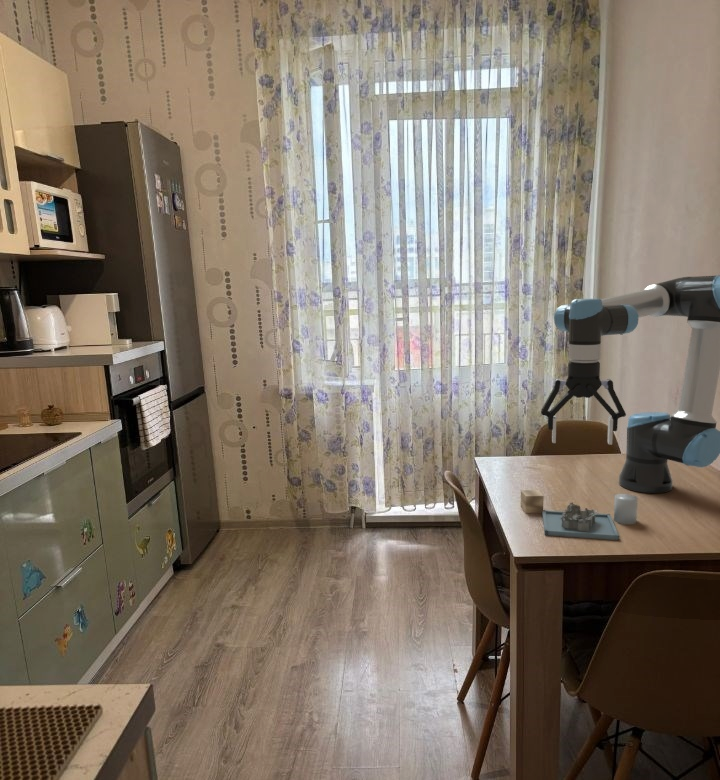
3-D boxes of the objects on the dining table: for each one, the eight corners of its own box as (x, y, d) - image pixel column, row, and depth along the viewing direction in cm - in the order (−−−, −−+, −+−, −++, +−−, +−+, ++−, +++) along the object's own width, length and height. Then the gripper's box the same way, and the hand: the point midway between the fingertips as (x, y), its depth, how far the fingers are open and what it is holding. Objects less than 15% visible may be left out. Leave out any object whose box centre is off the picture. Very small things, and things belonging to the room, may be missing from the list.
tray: (609, 518, 163) (610, 514, 163) (618, 540, 149) (619, 535, 149) (542, 514, 167) (542, 510, 167) (544, 535, 153) (544, 530, 153)
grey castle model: (571, 514, 165) (571, 500, 164) (599, 520, 160) (599, 506, 159) (557, 527, 156) (557, 512, 156) (586, 533, 152) (587, 518, 151)
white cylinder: (634, 517, 163) (635, 494, 162) (638, 525, 158) (639, 501, 157) (612, 516, 164) (613, 493, 163) (615, 523, 159) (616, 500, 158)
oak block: (537, 506, 173) (538, 489, 172) (543, 512, 168) (543, 495, 168) (520, 507, 173) (520, 490, 172) (525, 513, 168) (525, 496, 168)
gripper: (634, 358, 151) (630, 440, 155) (532, 359, 158) (530, 437, 161) (640, 362, 144) (636, 448, 148) (533, 362, 150) (531, 444, 154)
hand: (581, 442), depth 154 cm, fingers open, 13 cm apart
